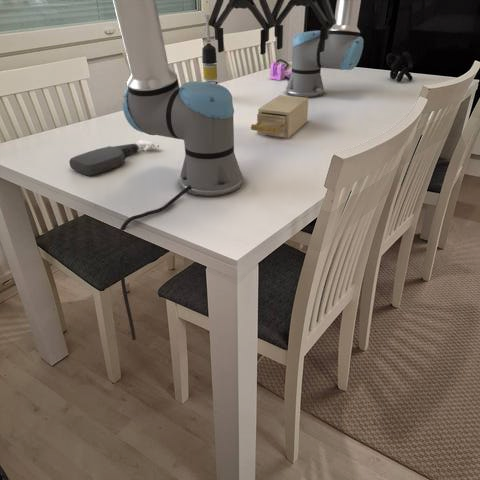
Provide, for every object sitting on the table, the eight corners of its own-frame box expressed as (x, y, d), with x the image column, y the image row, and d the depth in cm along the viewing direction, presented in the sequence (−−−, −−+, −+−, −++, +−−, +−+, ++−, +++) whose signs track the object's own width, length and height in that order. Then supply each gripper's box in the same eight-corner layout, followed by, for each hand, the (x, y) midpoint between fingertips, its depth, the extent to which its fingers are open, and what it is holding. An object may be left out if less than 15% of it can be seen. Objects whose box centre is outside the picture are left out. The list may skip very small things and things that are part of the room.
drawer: (276, 143, 131) (277, 123, 128) (249, 139, 135) (249, 119, 131) (302, 121, 149) (303, 103, 145) (277, 118, 152) (277, 100, 149)
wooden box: (288, 138, 138) (289, 112, 133) (258, 134, 141) (258, 108, 137) (307, 121, 152) (308, 97, 147) (279, 118, 155) (279, 94, 151)
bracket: (280, 80, 204) (280, 64, 200) (270, 78, 207) (270, 62, 203) (295, 74, 213) (295, 59, 209) (285, 73, 216) (285, 58, 212)
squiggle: (400, 92, 202) (376, 71, 205) (417, 76, 202) (392, 56, 205) (405, 81, 191) (380, 59, 194) (423, 64, 191) (397, 42, 194)
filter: (220, 99, 177) (217, 15, 161) (206, 100, 176) (202, 16, 160) (215, 96, 182) (212, 14, 166) (202, 97, 180) (197, 14, 164)
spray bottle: (67, 168, 120) (139, 144, 136) (91, 178, 114) (163, 151, 130) (65, 157, 118) (137, 134, 134) (89, 167, 112) (162, 142, 128)
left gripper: (287, -31, 122) (285, 52, 134) (205, -30, 130) (209, 48, 141) (280, -30, 117) (277, 56, 128) (194, -29, 124) (199, 52, 136)
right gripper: (352, -33, 122) (343, 50, 133) (269, -32, 132) (267, 45, 143) (344, -32, 116) (336, 54, 128) (258, -31, 126) (257, 49, 138)
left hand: (241, 52), depth 135 cm, fingers open, 13 cm apart
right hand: (300, 50), depth 136 cm, fingers open, 13 cm apart
